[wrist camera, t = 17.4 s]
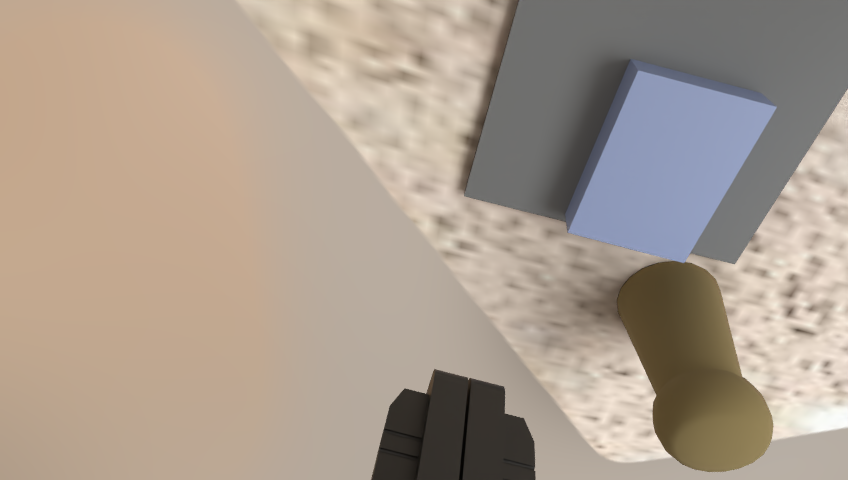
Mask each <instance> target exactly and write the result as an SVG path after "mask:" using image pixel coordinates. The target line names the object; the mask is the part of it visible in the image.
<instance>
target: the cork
mask: <svg viewBox="0 0 848 480" xmlns="http://www.w3.org/2000/svg"><path fill="white" fill-rule="evenodd" d="M617 306H618V313H619V315H620V317H621V319H622V321H623V324H624V326H625V328H626V330H627V332H628V335H629V337H630V339H631V341H632V343H633V345H634V348H635V350H636V352H637V354H638V356H639V358H640V361H641V363H642V365H643V367H644V369H645V371H646V374H647V376H648V378H649V380H650V382H651V385H652V387H653V389H654V391H655V393H656V395H657V396H656V398H655V400H654V402H653V425H654V429H655V433H656V435H657V436H658V438H659V440H660V442H661V443H662V445H663V447H664V449H665V450H666V451H667V452H668V453H669V454H670V455H671V456H672V457H674V458H675V459H676V460H677V461H679V462H680V463H681V464H683V465H685V466H688V467H690V468H692V469H696V470H701V471H707V472H722V471H723V472H724V471H729V470H734V469H739V468H741V467H744V466H746V465H749V464H751V463H753V462H754V461H755V460H757V459H758V458H760V457H761V456H762V455H763V454H764V453H765V451H766V450H767V448H768V446H769V445H770V442H771V439H772V433H773V420H772V415H771V413H770V411H769V408H768V406H767V404H766V402H765V400H764V398H763V396H762V395H761V393H760V392H759V391H758V390H757V389H756V388H755V387H754V386H753V385H752V384H751V383H750V382H748V381H747V380H746V379H745V378H743V377H742V374H741V370H740V366H739V362H738V358H737V354H736V350H735V347H734V343H733V339H732V335H731V331H730V327H729V323H728V319H727V315H726V311H725V307H724V303H723V299H722V295H721V292H720V289H719V286H718V284H717V282H716V279H715V278H714V277H713V276H712V275H711V274H710V273H709V272H708V271H707V270H705V269H703V268H701V267H699V266H696V265H694V264H692V263H686V262H684V263H681V262H678V261H671V262H662V263H657V264H654V265H651V266H648V267H646V268H643V269H641V270H640V271H638V272H637V273H635V274H634V275H633V276H631V277H630V278H629V279H628V280H627V281H626V283H625V284H624V285H623V286H622V288H621V290H620V293H619V296H618V299H617Z"/></svg>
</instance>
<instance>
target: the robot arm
mask: <svg viewBox="0 0 848 480" xmlns="http://www.w3.org/2000/svg"><path fill="white" fill-rule="evenodd" d="M534 468H535V451H534V441H533V438H532V436H531V434H530V431H529V429H528V427H527V425H526V422H525V420H524V418H520V417H516V416H512V415H508V414H505V389H504V387H503V386H499V385H495V384H491V383H488V382H483V381H479V380H476V379H472V378H470V379H469V380H468V378H467V377H463V376H459V375H455V374H451V373H447V372H443V371H439V370H436V369H435V370H434V371H433V374H432V377H431V380H430V384H429V387H428V390H427V393H426V394H425V393H420V392H416V391H412V390H409V389H404V390H403V391H402V392H401V393H400V395H399V396H398V397H397V398H396V399H395V401H394V402H393V403H392V404H391V405H390V408H389V411H388V415H387V419H386V423H385V427H384V431H383V434H382V438H381V442H380V446H379V450H378V454H377V458H376V463H375V467H374V470H373V475H372V479H371V480H535V471H534Z"/></svg>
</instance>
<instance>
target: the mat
mask: <svg viewBox="0 0 848 480" xmlns="http://www.w3.org/2000/svg"><path fill="white" fill-rule="evenodd" d="M630 59H634V60H637V61H641V62H645V63H649V64H653V65H656V66H660V67H664V68H668V69H672V70H675V71H679V72H683V73H687V74H691V75H694V76H698V77H702V78H706V79H709V80H713V81H717V82H721V83H725V84H728V85H732V86H736V87H740V88H744V89H747V90H751V91H755V92H759V93H762V94H763V95H764V96H765V97H766V98H767V99H768V100H770V101H771V102H772V103H773V104H774V105H775V106H777V108H776V110H775V111H774V113H773V115H772V116H771V118H770V120H769V121H768V123H767V125H766V127H765V128H764V130H763V132H762V133H761V135H760V137H759V138H758V140H757V142H756V143H755V145H754V147H753V148H752V150H751V152H750V153H749V155H748V157H747V158H746V160H745V162H744V163H743V165H742V167H741V168H740V170H739V172H738V173H737V175H736V177H735V179H734V180H733V182H732V184H731V185H730V187H729V189H728V190H727V192H726V194H725V195H724V197H723V199H722V200H721V202H720V204H719V205H718V207H717V209H716V210H715V212H714V214H713V215H712V217H711V219H710V220H709V222H708V224H707V225H706V227H705V229H704V231H703V232H702V234H701V236H700V237H699V239H698V241H697V242H696V244H695V246H694V247H693V249H692V251H691V252H690V253H692V254H696V255H700V256H704V257H708V258H712V259H716V260H720V261H724V262H728V263H732V264H735V263H736V261H737V260H738V258H739V257H740V255H741V254H742V252H743V251H744V249H745V247H746V246H747V244H748V243H749V241H750V240H751V238H752V237H753V235H754V233H755V232H756V230H757V229H758V227H759V226H760V224H761V223H762V221H763V219H764V218H765V216H766V215H767V213H768V212H769V210H770V209H771V207H772V205H773V204H774V202H775V201H776V199H777V198H778V196H779V195H780V193H781V191H782V190H783V188H784V187H785V185H786V184H787V182H788V181H789V179H790V177H791V176H792V174H793V173H794V171H795V170H796V168H797V167H798V165H799V163H800V162H801V160H802V159H803V157H804V156H805V154H806V153H807V151H808V150H809V148H810V146H811V145H812V143H813V142H814V140H815V139H816V137H817V136H818V134H819V132H820V131H821V129H822V128H823V126H824V125H825V123H826V122H827V120H828V118H829V117H830V115H831V114H832V112H833V111H834V109H835V108H836V106H837V104H838V103H839V101H840V100H841V98H842V97H843V95H844V94H845V92H846V90H847V89H848V0H519V1H518V5H517V8H516V12H515V15H514V19H513V22H512V26H511V29H510V33H509V36H508V40H507V44H506V47H505V51H504V54H503V58H502V61H501V65H500V68H499V72H498V75H497V79H496V83H495V86H494V90H493V93H492V97H491V100H490V104H489V107H488V111H487V114H486V118H485V122H484V125H483V129H482V132H481V136H480V139H479V143H478V146H477V150H476V153H475V157H474V161H473V164H472V168H471V171H470V175H469V178H468V182H467V185H466V189H465V193H464V196H466V197H470V198H474V199H478V200H482V201H486V202H490V203H494V204H498V205H502V206H506V207H510V208H513V209H517V210H521V211H525V212H529V213H533V214H537V215H541V216H545V217H549V218H553V219H557V220H561V221H565V222H566V217H565V213H566V211H567V209H568V206H569V204H570V201H571V199H572V197H573V194H574V192H575V190H576V187H577V185H578V183H579V180H580V178H581V175H582V173H583V171H584V168H585V166H586V164H587V161H588V159H589V156H590V154H591V152H592V149H593V147H594V145H595V142H596V140H597V137H598V135H599V133H600V130H601V128H602V126H603V123H604V121H605V119H606V116H607V114H608V111H609V109H610V107H611V104H612V102H613V100H614V97H615V95H616V92H617V90H618V88H619V85H620V83H621V81H622V78H623V76H624V73H625V71H626V69H627V66H628V64H629V62H630Z"/></svg>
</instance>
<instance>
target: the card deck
mask: <svg viewBox="0 0 848 480" xmlns="http://www.w3.org/2000/svg"><path fill="white" fill-rule="evenodd" d="M776 108H777V106H775V105H774V104H773V103H772V102H771V101H770V100H768V99H767V98H766V97H765V96H764V95H763V94H762V93H759V92H755V91H751V90H747V89H744V88H740V87H736V86H732V85H728V84H725V83H721V82H717V81H713V80H709V79H706V78H702V77H698V76H694V75H691V74H687V73H683V72H679V71H675V70H672V69H668V68H664V67H660V66H656V65H653V64H649V63H645V62H641V61H637V60H634V59H630V62H629V64H628V66H627V69H626V71H625V73H624V76H623V78H622V81H621V83H620V85H619V88H618V90H617V92H616V95H615V97H614V100H613V102H612V104H611V107H610V109H609V111H608V114H607V116H606V119H605V121H604V123H603V126H602V128H601V130H600V133H599V135H598V137H597V140H596V142H595V145H594V147H593V149H592V152H591V154H590V156H589V159H588V161H587V164H586V166H585V168H584V171H583V173H582V175H581V178H580V180H579V183H578V185H577V187H576V190H575V192H574V194H573V197H572V199H571V201H570V204H569V206H568V209H567V211H566V213H565V217H566V224H567V231H568V233H571V234H575V235H579V236H582V237H586V238H590V239H594V240H598V241H601V242H605V243H609V244H613V245H617V246H621V247H624V248H628V249H632V250H636V251H640V252H643V253H647V254H651V255H655V256H659V257H662V258H666V259H670V260H674V261H678V262H681V263H684V262H685V261H686V259H687V257H688V256H689V254H690V252H691V251H692V249H693V247H694V246H695V244H696V242H697V241H698V239H699V237H700V236H701V234H702V232H703V231H704V229H705V227H706V225H707V224H708V222H709V220H710V219H711V217H712V215H713V214H714V212H715V210H716V209H717V207H718V205H719V204H720V202H721V200H722V199H723V197H724V195H725V194H726V192H727V190H728V189H729V187H730V185H731V184H732V182H733V180H734V179H735V177H736V175H737V173H738V172H739V170H740V168H741V167H742V165H743V163H744V162H745V160H746V158H747V157H748V155H749V153H750V152H751V150H752V148H753V147H754V145H755V143H756V142H757V140H758V138H759V137H760V135H761V133H762V132H763V130H764V128H765V127H766V125H767V123H768V121H769V120H770V118H771V116H772V115H773V113H774V111H775V110H776Z"/></svg>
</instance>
